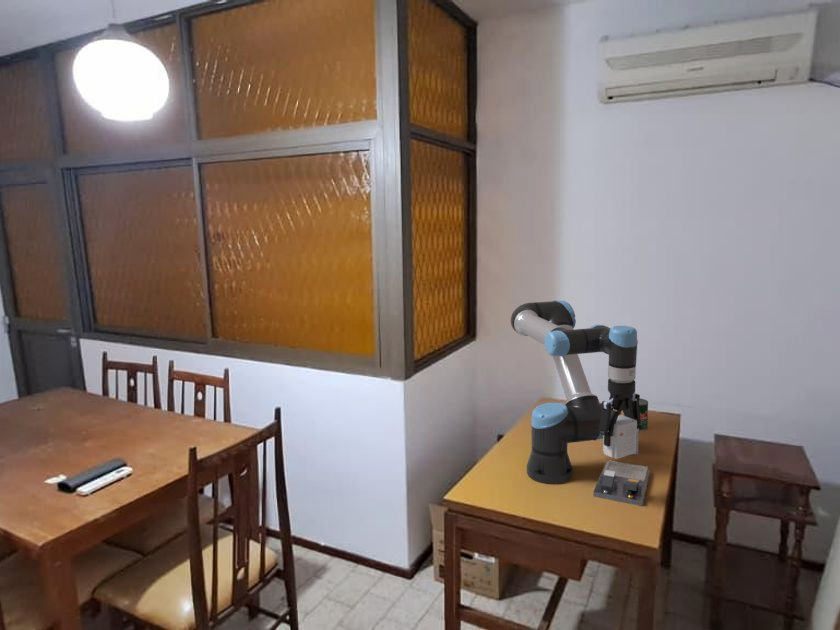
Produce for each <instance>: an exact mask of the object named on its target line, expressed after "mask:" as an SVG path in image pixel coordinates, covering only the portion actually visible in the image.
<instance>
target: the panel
mask: <svg viewBox="0 0 840 630" xmlns="http://www.w3.org/2000/svg"><path fill="white" fill-rule="evenodd" d="M648 467H649V466H646V465H645V466H644V465H639V464H633V463H628V462H627V463H626V462H621V461H614V460H611V459H607V461H606V462H605V463H604V466H603V468H602V470H601V473H600V475H599V477H598V480H597V482H596V485H595V487H594V490H593V494H592V495H593V497H596V498H600V499H606V500H610V501H615V502H620V503H621V502H622V503H627V504H629V505H630V504H631V505H636V506H639V507H643V505H644V500H645V497H646V492H647V489H646V488H647V487H648V483H649V479H650V475H651V470H650V469H649V468H648ZM605 470H609V471H615V480H614V484H613V488H612V491H608V490H603V489H602V487H601V485H602V481H603V477H604V473H605ZM628 479H633V480H639V487H638V489H637V491H634V490H629V489H626V483H627V481H628Z"/></svg>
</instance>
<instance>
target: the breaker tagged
mask: <svg viewBox="0 0 840 630" xmlns="http://www.w3.org/2000/svg"><path fill="white" fill-rule="evenodd" d="M638 487H639V480H633V479H628V481H627V483H626V489H629V490H634V491H637V489H638Z"/></svg>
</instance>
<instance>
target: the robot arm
mask: <svg viewBox="0 0 840 630" xmlns="http://www.w3.org/2000/svg"><path fill="white" fill-rule="evenodd" d="M576 320H577V319H576V314H575V310H574V308H573V307H572V305H571V304H570V303H569V302H567V301H565V300H552V301H538V302H526V303H523V304H520V305H519V306H518V307H516V308H515V309H514V310H513V312H512V314H511V316H510V324H511V327H512V329H513V330H514V332H515V333H516V334H519V335H520V336H522V337H530V338H532V339H534V340H535V341H538V343H539V342H540V343H541V344H543V345H544V348H545V350H546V352H547V354H548V355H549V356H551V357H552V359H553V362H554V364H555V368H556V370H557V374H558V377H559V379H560V383H561V387H562V389H563V393H564V395H565V399H566V401H565V403H561V402H546V403H542V404H539V405H537V406H536V407H535V408H534V409H533V410H532V413H531V419H530V426H531V427H530V428H531V430H530V431H531V451H530V454H529V456H528V461H527V463H526V475H527V474H528V475H527V476H528V477H529V478H530V479H532V480H534V481H536V482H538V483H543V484H552V485H554V484H555V485H556V484H562V483H563V484H564V483H566V482H568V481H570V480H571V479H572V478H573V476H574V475H573V473H574V470H573V465H572V462H571V459H570V455H569V454H568V444H572V443H580V442H581V443H582V442H589V441H597V440H603V435H604V445H605V447H604V452H603V453H604V454H603V455H606V456H607V457H610V458H613V451H614V436H612V433H613V430H614V424H616V421H617V418H618V416H620V415H622V414H621V413H622V412H623V415H625V416H626V417H629V418H631V419H634V420H636V419H637V420H636V421H637V429H638V428H639V426H638V425H640V424H641V418H640V408H639V399H641V398H640V394H638V393H636V381H635V380H636V375H637V373H636V371H637V368H636V367H637V354H638V343H639V342H638V341H639V340H638V331H637V329H636V328H635V327H633V326H628V325H615V326H612V327H609V326H607V325H604V324H603V325H602V324H594V325H592V326H590V327H588V328H578V329H574V328H575V327H576V323H577V321H576ZM593 353H604V354H606V355H608V366H607V367H608V369H607V377H608V380H607V391H608V392H609V393H608V394H609V397H608V400H607V401H605V400H603V401H602V402H601V401H600V399H599V398H598V395H596V394H594V393H593V392H591V391H592V390H591V389H590V385H589V382H588V379H587V377H586V375H585V372H584V368H583V365H582V363H581V360H580V357H579V355H581V354H583V355H584V354H593ZM608 431H609V432H608Z"/></svg>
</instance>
